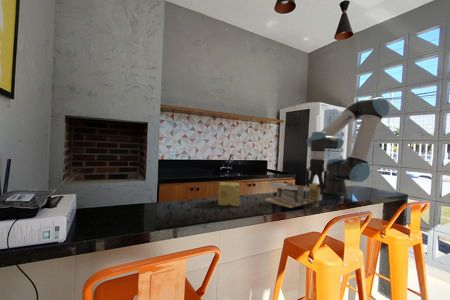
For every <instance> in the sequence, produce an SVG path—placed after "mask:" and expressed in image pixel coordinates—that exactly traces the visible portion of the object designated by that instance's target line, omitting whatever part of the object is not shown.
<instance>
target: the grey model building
mask: <svg viewBox="0 0 450 300" xmlns="http://www.w3.org/2000/svg"><path fill="white" fill-rule="evenodd" d="M268 185H269V186H270V187H274V188H276V189H277V188H282V189H287V190H294V191H298V189H299V187H304V192H303V197H304V196H305V192H308V191H309V190H310V187H309V186H307V185H298V184H294V183H292V182H291V183H290V182H283V181H273V180H269V184H268Z"/></svg>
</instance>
